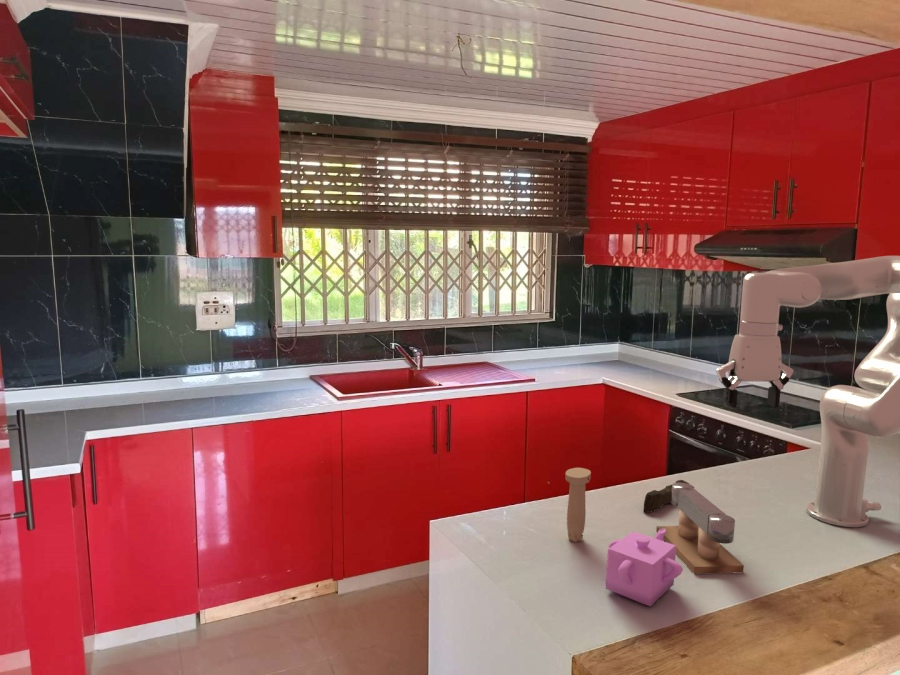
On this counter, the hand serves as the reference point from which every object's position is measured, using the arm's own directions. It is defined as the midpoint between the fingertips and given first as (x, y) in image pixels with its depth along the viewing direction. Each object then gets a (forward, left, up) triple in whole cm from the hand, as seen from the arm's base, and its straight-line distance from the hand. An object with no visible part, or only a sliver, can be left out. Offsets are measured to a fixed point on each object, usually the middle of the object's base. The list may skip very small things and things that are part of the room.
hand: (751, 406), depth 141 cm
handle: (+40, +4, -28) cm, 49 cm away
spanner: (+16, +11, -21) cm, 29 cm away
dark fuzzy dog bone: (+12, -14, -29) cm, 34 cm away
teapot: (+33, +25, -28) cm, 50 cm away
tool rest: (+16, +11, -28) cm, 34 cm away
